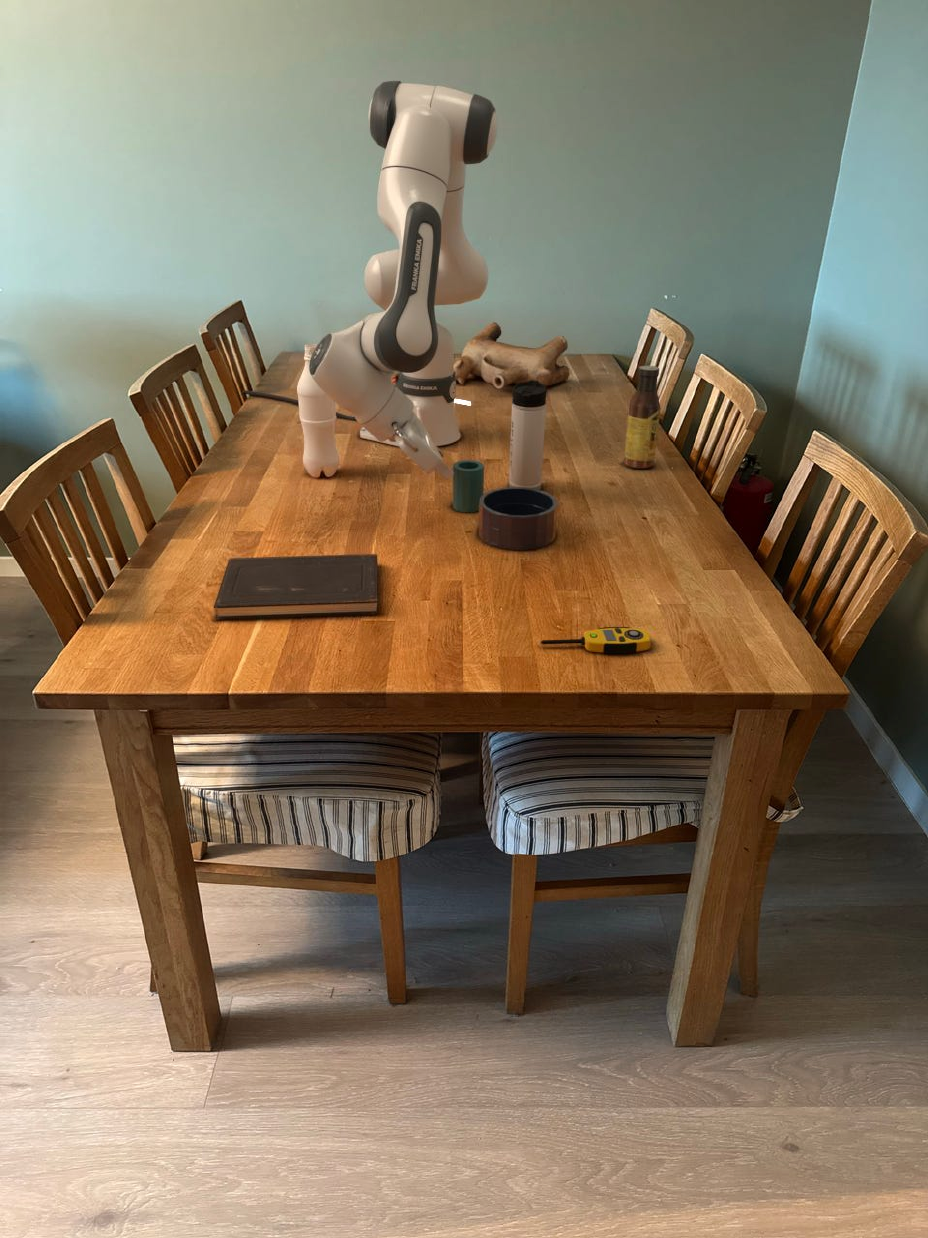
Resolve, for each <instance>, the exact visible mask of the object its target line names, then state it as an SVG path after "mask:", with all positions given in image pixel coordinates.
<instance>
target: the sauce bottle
mask: <svg viewBox="0 0 928 1238" xmlns="http://www.w3.org/2000/svg"><path fill="white" fill-rule="evenodd" d="M637 370H638V371H637V376H638V380H637V385H636V392H635V393H634V394H633V395H632V397H631V399H630V402H629V410H628V414H627V423H626V432H625V433H626V434H625V443H624V453H623V455H624V459H623V463H624V465H625V466H626V467H629V468H632V469H638V470H643V469H649V468H651V467H652V466H653V465H654V462H655V461H654V460H655V458H656V452H657V451H656V450H657V441H658V432H659V425H660V417H661V404H660V400H659V395H658V379H659V378H658V377H659V375H660V367H658V366H655V365H641V366H638V369H637Z"/></svg>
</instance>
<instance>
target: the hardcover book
mask: <svg viewBox="0 0 928 1238" xmlns="http://www.w3.org/2000/svg"><path fill="white" fill-rule="evenodd" d="M378 565H379V564H378V554H377V553H363V554H362V553H359V554H327V555H326V554H325V555H295V556H293V555H291V556H261V557H260V556H258V557H257V556H256V557H229V559H228V562H227V564H226V568H225V571H224V574H223V577H222V579H221V583H220V585H219V586H220V587H219V589H218V592H217V595H216V597H215V602H214V604H213V609H216V611H217V612H216V615H215V620H216V621H227V620H228V621H229V620H230V621H231V620H255V619H256V620H257V619H258V620H259V619H284V618H285V619H287V618H288V619H289V618H311V617H342V616H368V615H369V616H371V615H373V616H374V615H379V570H378V569H379V568H378V567H379V566H378Z"/></svg>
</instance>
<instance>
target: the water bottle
mask: <svg viewBox="0 0 928 1238" xmlns="http://www.w3.org/2000/svg"><path fill="white" fill-rule="evenodd" d="M318 344H319V343H308V344H305V345H304V357H303V360H304V361H305V362H304V368H303V370H302V373H301V375H300V377H299V380H298V382H297V384H296V385H297V387H296V393H297V397H298V398H297V400H298V401H299V404H298V413H299V421H300V424H301V427H302V432H303V434H302V435H303V444H304V445H303V455H302V463H303V465H302V466H303V467H304V469H305V471H306V473H307V474H309V475H310V476H311V477H313V478H320V476H321V474H322V473H321V472H323V473H324V475H325V477H327V478H330V477H333V476H334V475H335V473H336V472H337V470H338V468H339V465H340V455H339V451H338V447H337V443H336V436H335V435H336V433H335V431H336V430H335V428H336V420H337V416H336V412H337V411H336V409H337V408H336V403H335V402H334V401H333V400H332V399H331V398H330V397H329V396H328V395H327V394H326V393H325V392H324V391H323V390H322V389H321V388H320V387H319V386H318V385H317V383H316V382H315V381H314V379H313V378H312V376H311V374H310V371H309V365H310V359H311V357H312V354H313V352H314V350H315V348H316V347H317V345H318Z"/></svg>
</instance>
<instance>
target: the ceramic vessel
mask: <svg viewBox="0 0 928 1238" xmlns="http://www.w3.org/2000/svg"><path fill="white" fill-rule="evenodd" d="M501 328H502V327H501V326H500V325H499V324H498V323H497V322H495V321H494V322H490V323H488V325H487V326H486V327H484V328H483V329H482V330H481V331H480V332H479V333H478V334H476V335H475V336H473V337H472V338H471V339H470V340H469V341H468V342H467V343H466V344H465V346H464V348H463V350H462V353H461V355H460V356H459V355H458V356H457V355H456V356H454V372H455V375H456V382H458V383H459V384H460V386H464V385H465V381H466V378H467V377H468V376H469V375H472V376H475V377H478V378H482V379H483V381H484V382H485V383H488V384H492V385H493V386H494V388H495V389H497V390H502V389H503V388H504V387H506V386H508V385H511V384H515V385H516V384H519V383H522V382H529V381H530V380H535V381H539V383H541V384H543V385H545V386H546V387H548V386H552V385H557V384H560V383H561V382H564V381H567V380H568V379H569V377H570V369H569V367H568V366H567V365H565V364H564V365H559V364H558V363H557V362H558V359H559V357H560V356H562V354H564V353H565V352H566V351H567V350H568V346H569V345H568V340H567V339H566V338H565V336H563V335H557V336H555V337H554V338H552V339H551V340H549V341H548V342H546V343H545V344H543V345H542V346H540V347H528V346H520V345H519V346H518V345H514V344H509V343H505V342H501V341H498V339H499V338H500V337H501V336H502V332H503V331H502V329H501Z"/></svg>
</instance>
